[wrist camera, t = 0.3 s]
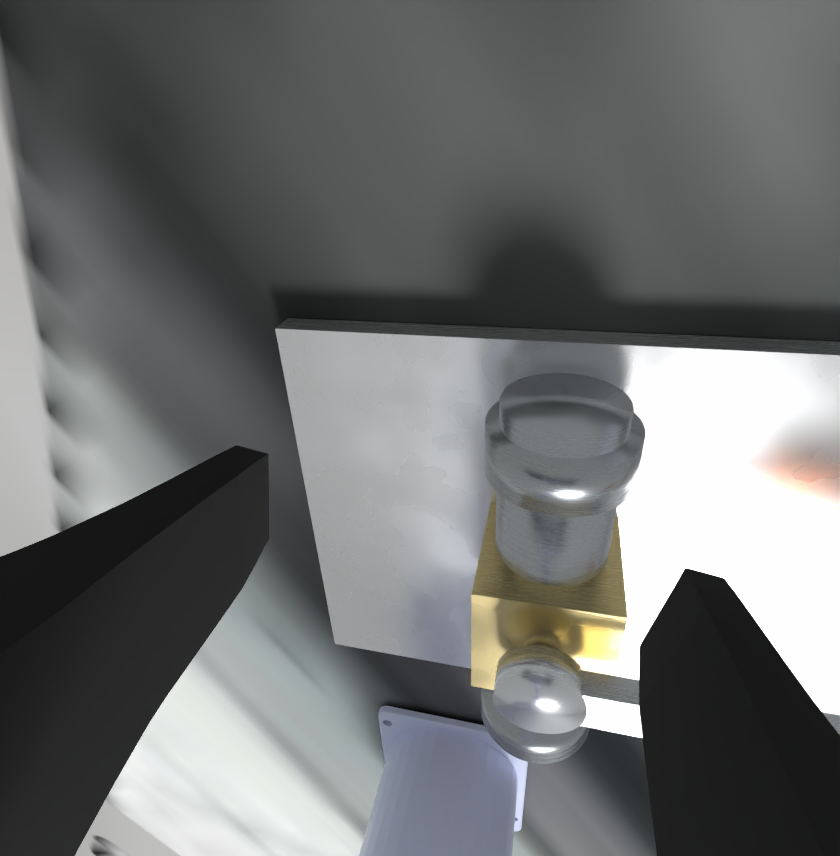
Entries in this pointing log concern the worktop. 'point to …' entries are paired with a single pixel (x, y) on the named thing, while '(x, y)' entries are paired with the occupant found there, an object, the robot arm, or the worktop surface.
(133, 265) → the worktop surface
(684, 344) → the valve rig
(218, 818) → the worktop surface
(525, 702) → the lever
